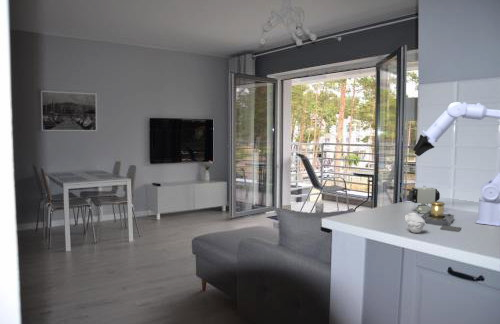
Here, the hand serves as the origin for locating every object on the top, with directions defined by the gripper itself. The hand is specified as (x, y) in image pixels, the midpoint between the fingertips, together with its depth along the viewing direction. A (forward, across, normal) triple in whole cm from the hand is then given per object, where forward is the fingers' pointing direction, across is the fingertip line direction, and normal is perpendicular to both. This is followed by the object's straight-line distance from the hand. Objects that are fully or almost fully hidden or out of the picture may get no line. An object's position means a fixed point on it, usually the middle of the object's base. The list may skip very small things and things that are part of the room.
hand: (415, 153), depth 164 cm
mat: (+11, +25, +23) cm, 35 cm away
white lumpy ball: (+18, +35, +12) cm, 41 cm away
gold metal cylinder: (+15, +13, +22) cm, 29 cm away
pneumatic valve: (+19, -3, +20) cm, 28 cm away
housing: (+15, +13, +22) cm, 29 cm away
